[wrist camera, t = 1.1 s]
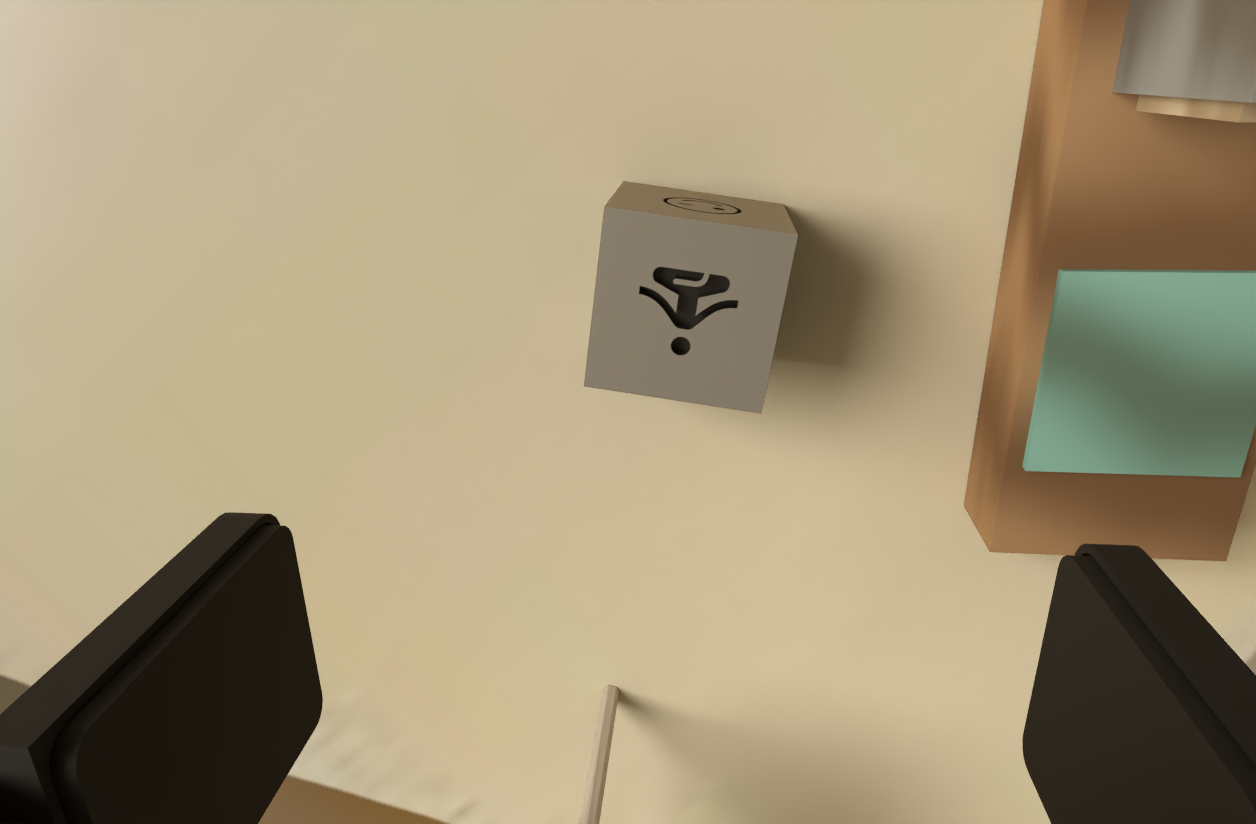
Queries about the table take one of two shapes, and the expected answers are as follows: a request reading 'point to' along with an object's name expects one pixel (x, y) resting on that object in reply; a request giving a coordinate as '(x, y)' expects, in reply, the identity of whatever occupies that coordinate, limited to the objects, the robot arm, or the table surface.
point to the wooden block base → (1126, 288)
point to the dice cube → (689, 296)
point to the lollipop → (599, 758)
